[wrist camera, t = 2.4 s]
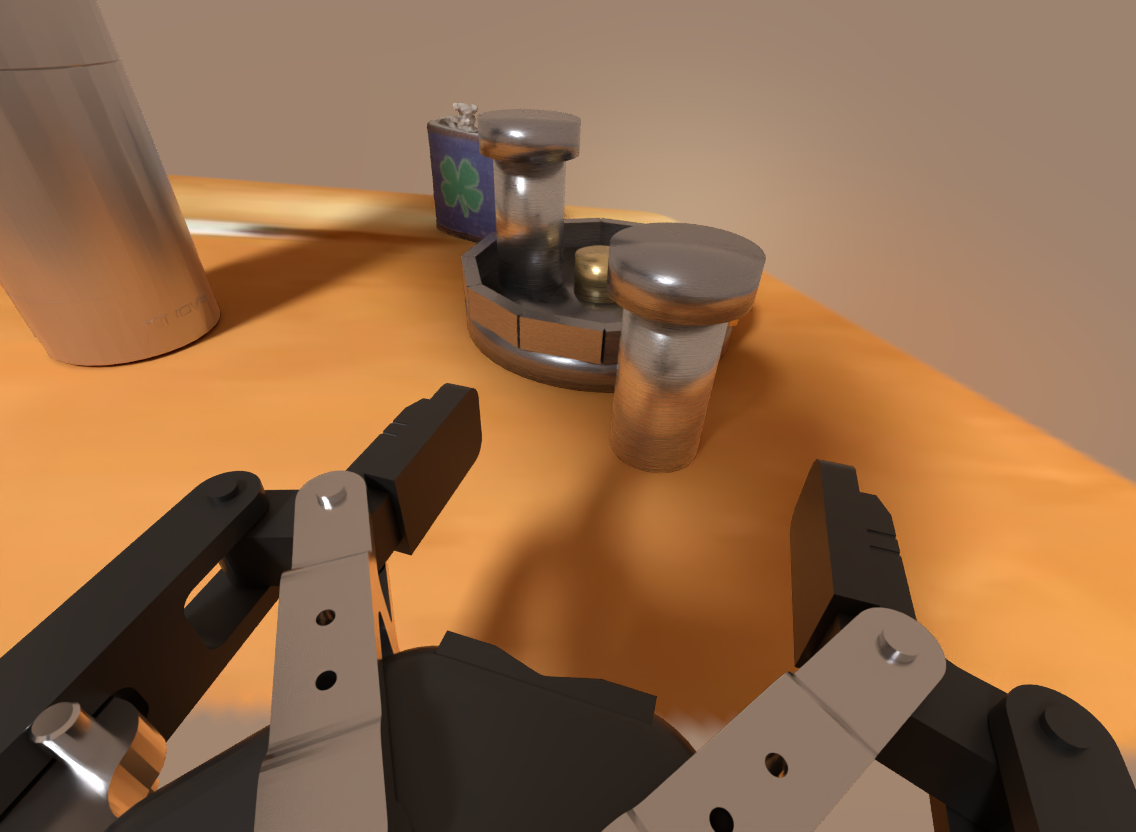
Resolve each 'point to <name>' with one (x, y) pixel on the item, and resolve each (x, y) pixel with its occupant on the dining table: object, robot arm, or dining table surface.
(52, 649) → the robot arm
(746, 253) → the silver capped cylinder
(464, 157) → the flask
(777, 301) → the dining table surface
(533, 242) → the carrier
